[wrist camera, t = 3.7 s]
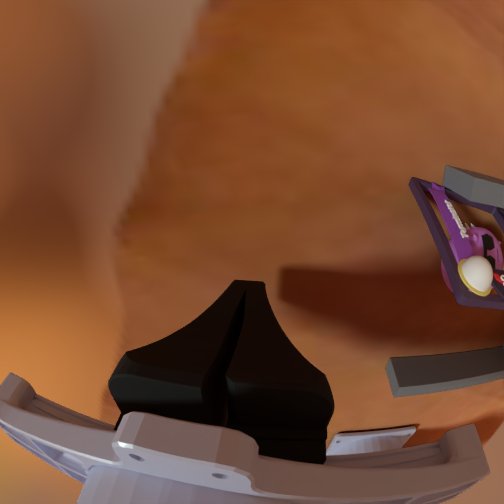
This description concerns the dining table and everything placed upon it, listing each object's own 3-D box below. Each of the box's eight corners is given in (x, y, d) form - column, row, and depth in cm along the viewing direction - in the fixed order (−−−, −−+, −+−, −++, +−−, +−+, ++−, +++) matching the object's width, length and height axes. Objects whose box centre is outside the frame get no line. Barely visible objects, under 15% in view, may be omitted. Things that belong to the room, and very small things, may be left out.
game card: (581, 300, 6) (477, 281, 6) (520, 358, 10) (397, 362, 10) (529, 208, 11) (415, 162, 11) (488, 268, 14) (377, 245, 15)
